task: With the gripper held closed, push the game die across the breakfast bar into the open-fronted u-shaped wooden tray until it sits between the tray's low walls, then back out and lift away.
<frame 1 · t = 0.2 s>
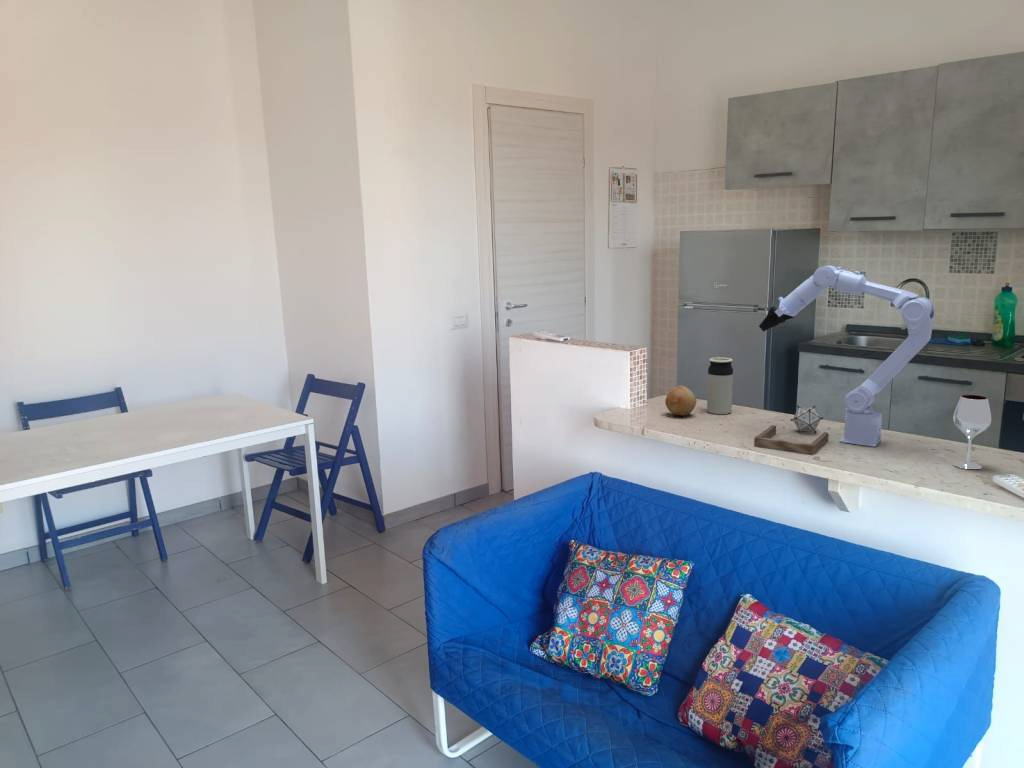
hand: (765, 326, 227), 31 cm above the breakfast bar, tool tilted 45°, fingers open, 7 cm apart
game die: (805, 432, 227), on the breakfast bar
u-shaped wooden tray: (791, 443, 215), on the breakfast bar
wineglass: (967, 467, 192), on the breakfast bar
onion: (680, 416, 250), on the breakfast bar
travel mug: (719, 412, 254), on the breakfast bar
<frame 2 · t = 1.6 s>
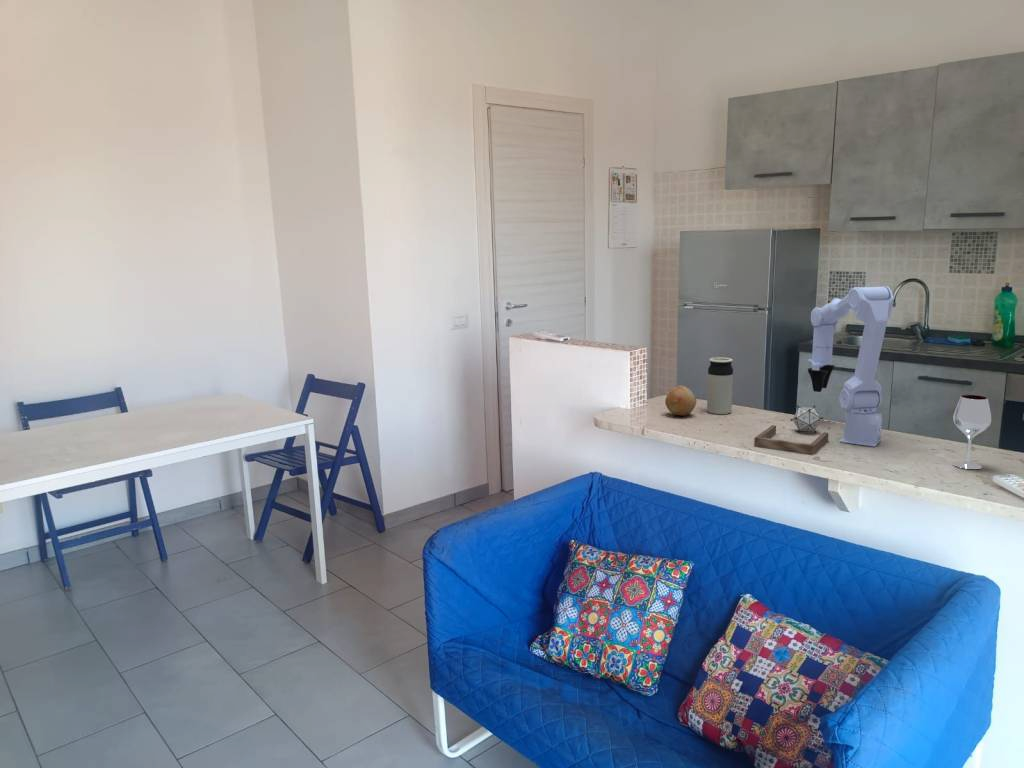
hand: (819, 389, 236), 10 cm above the breakfast bar, tool pointing down, fingers open, 6 cm apart
nothing on the breakfast bar moved.
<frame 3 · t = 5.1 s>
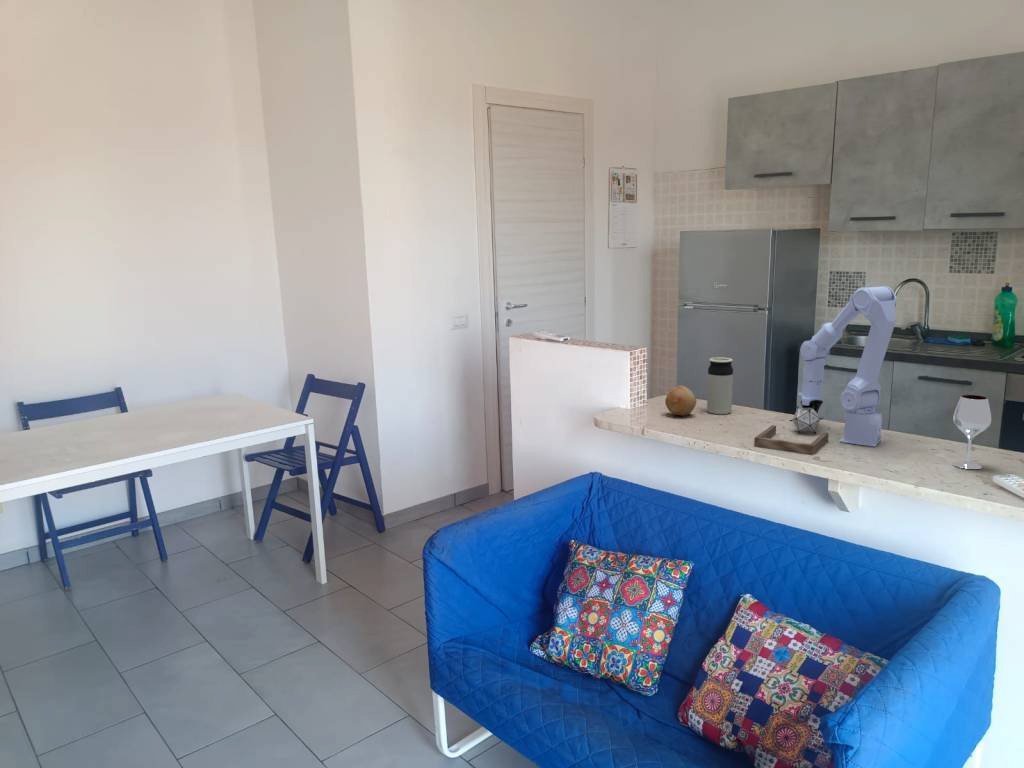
hand: (810, 423, 231), 1 cm above the breakfast bar, tool pointing down, fingers closed
game die: (805, 433, 227), on the breakfast bar, touching gripper
everything else where it was.
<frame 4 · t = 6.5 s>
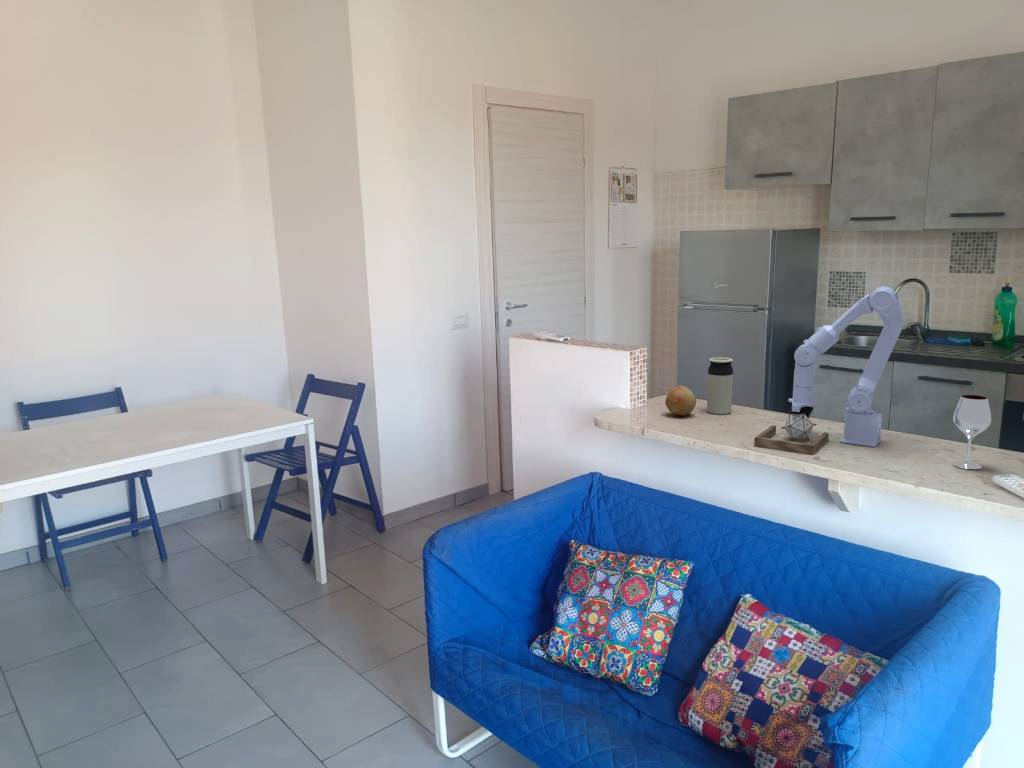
hand: (801, 430, 223), 1 cm above the breakfast bar, tool pointing down, fingers closed
game die: (798, 440, 219), on the breakfast bar, touching gripper
everything else where it was.
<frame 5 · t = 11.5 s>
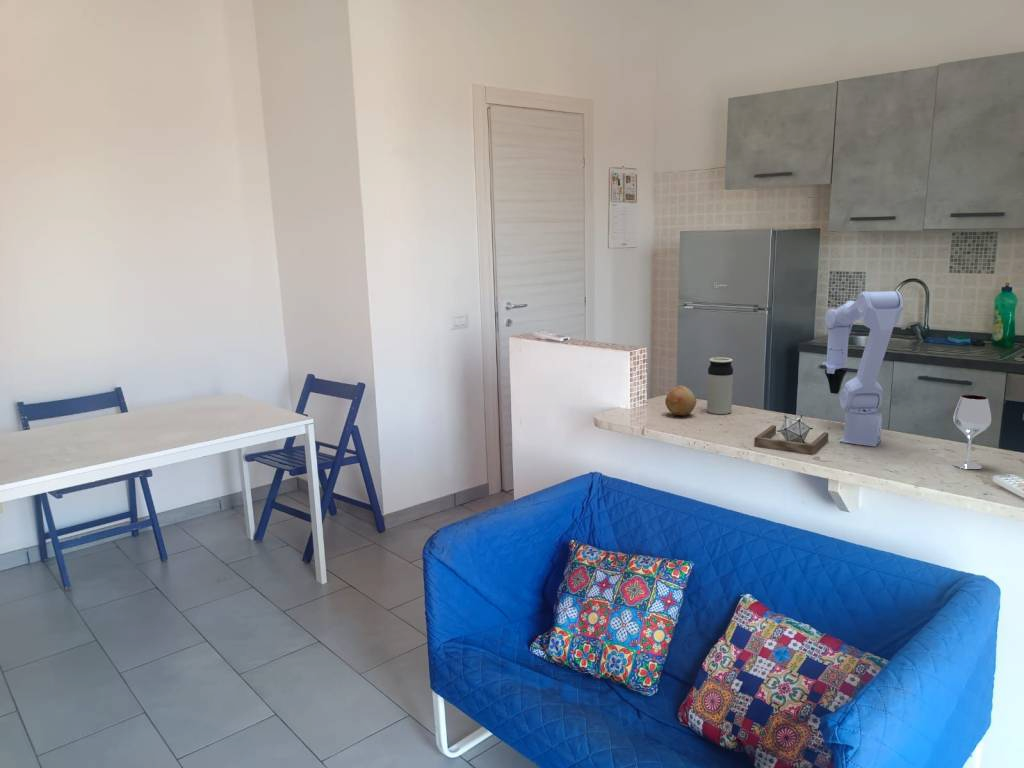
hand: (834, 393, 231), 10 cm above the breakfast bar, tool pointing down, fingers closed
game die: (794, 444, 216), on the breakfast bar
everything else where it was.
at the end: game die inside the target area (1.7 cm from its centre), on the breakfast bar; game die tilted 0°; game die moved 14.1 cm from its start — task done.
